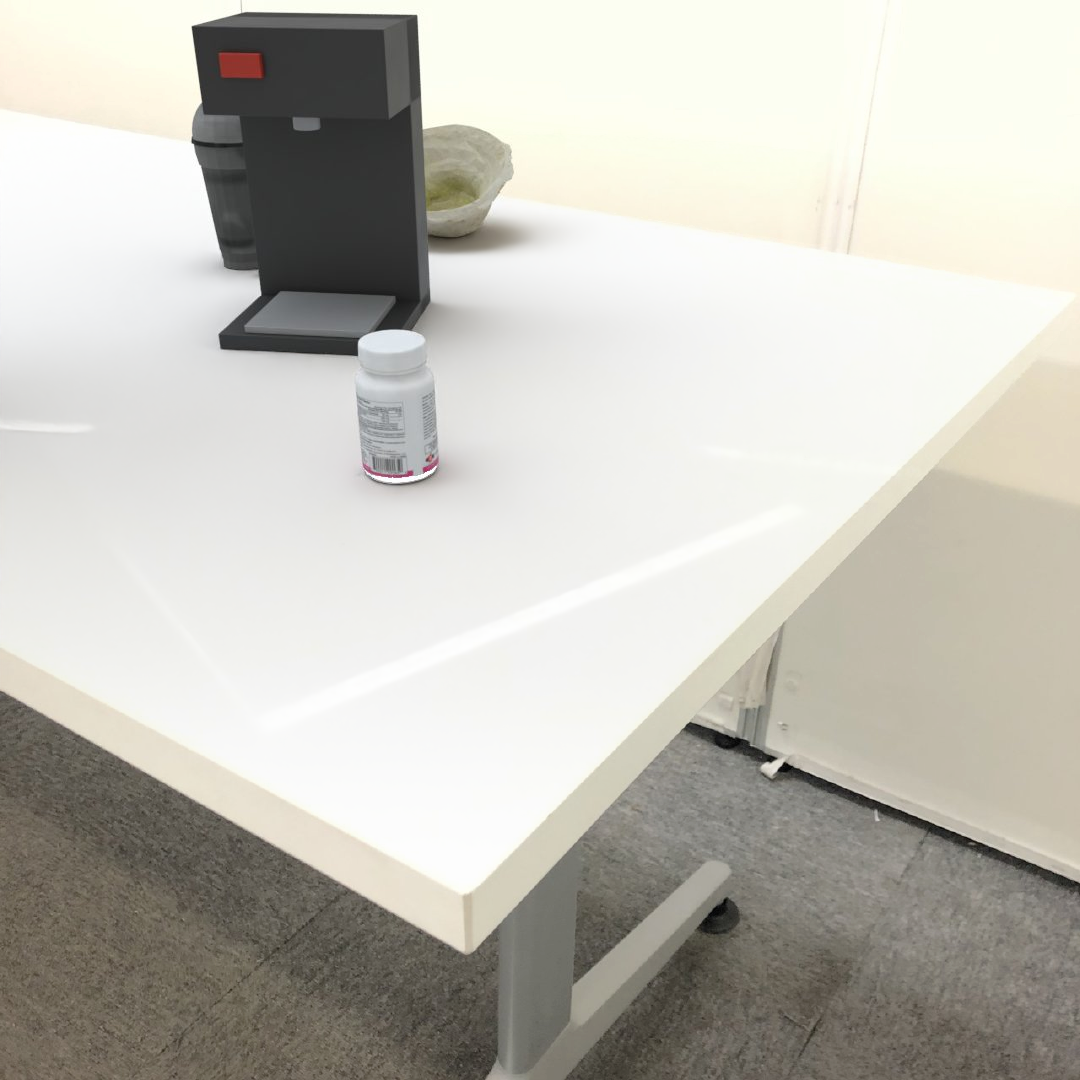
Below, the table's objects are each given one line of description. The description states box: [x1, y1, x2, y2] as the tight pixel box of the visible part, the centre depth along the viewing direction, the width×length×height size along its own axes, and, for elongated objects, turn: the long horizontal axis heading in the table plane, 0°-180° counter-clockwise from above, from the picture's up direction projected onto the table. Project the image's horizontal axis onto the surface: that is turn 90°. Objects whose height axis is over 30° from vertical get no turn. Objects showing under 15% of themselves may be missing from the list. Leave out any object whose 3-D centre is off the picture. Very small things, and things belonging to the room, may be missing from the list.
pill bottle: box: [354, 330, 440, 485], centre depth 68 cm, size 5×5×8 cm
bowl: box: [423, 123, 515, 238], centre depth 116 cm, size 15×14×10 cm
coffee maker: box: [191, 11, 431, 356], centre depth 88 cm, size 14×14×23 cm
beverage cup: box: [190, 102, 258, 271], centre depth 104 cm, size 7×7×20 cm
